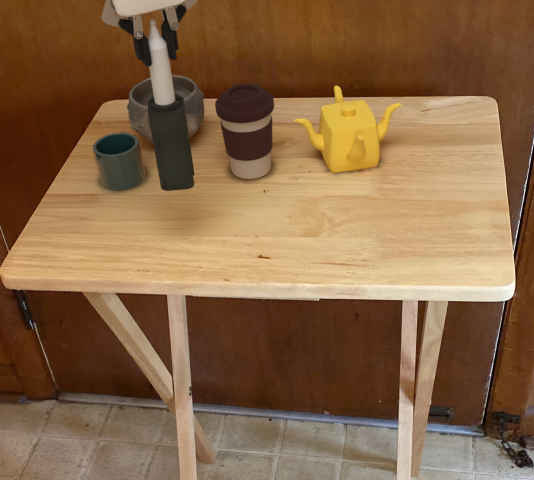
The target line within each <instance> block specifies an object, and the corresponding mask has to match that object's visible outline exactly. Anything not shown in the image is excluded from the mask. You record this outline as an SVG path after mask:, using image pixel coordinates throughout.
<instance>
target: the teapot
mask: <svg viewBox="0 0 534 480" xmlns="http://www.w3.org/2000/svg"><path fill="white" fill-rule="evenodd" d="M333 92H334V102H333V103H331V104H325V105H322V106H321V107H320V108H321V109H320V114H319V122H318V132H317V131H315V129H314V125H313V124H312V122H311V121H310V120H309V119H308V118H295V119H294V120H293V121H294V122H295V123H298V124H300V125H302V127H303V128H304V129H305V131H306V134H307V137H308V140H309V143H310V144H311V145H312V146H313V148H315V149H316V150H318V151H320V152H321V155H322V158H323V160H324V163H325V164H326V166H327V168H328V169H329V171H330V172H331V173H333V174H334V173H336V174H337V173H345V172H351V171H358V170H364V169H369V168H370V169H371V168H375V167H378V166H379V164H380V158H381V148H380V147H381V145H380V142H381V141H382V140H383V139H384V138H385V137H386V135H387V133H388V130H389V127H390V123H391V118H392V116H393V114H394V112H395V111H396V110H397V109H399V108H400V107H402V103H400V102H398V103H393V104H391V105H389V106H387V107H386V108H385V110H384V112H383V114H382V117H381V119H380V121H379V122H378V123H377V120H376V117H375V115H374V113H373V111H372V109H371V108H370V106H369V105H368V103H367V102H366V101H365V100H363V99H358V100H349V101H345V99H344V96H343V91H342V88H341V87H340V86H339V85H334V87H333Z"/></svg>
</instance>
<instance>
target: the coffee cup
mask: <svg viewBox="0 0 534 480" xmlns="http://www.w3.org/2000/svg"><path fill="white" fill-rule="evenodd" d="M274 98H275V97H274V95H273V94H272V93H270V92H269V91H267V90H266V89H264V88H262V87H261V86H260V85H259V84H256V83H248V82H247V83H245V82H244V83H238V84H233V85H231V86H229V87H228V88H226V89H225V90H224V92H223V93H222V94H220V95H219V96H218V97H217V98H216V100H215V103H214V107H215V113H216V115H217V117H218V118H219V119H220V128H221V132H222V139H223V142H224V148H225V152H226V154H227V156H228V160H229V166H230V171H231V173H232V174H233V175H234V176H235V177H237V178H239V179H243V180H255V179H259V178H262V177H264V176H266V175H267V174H268V173H269V172H270V171H271V170H272V150H273V116H272V113H273V112H274V109H275V100H274Z"/></svg>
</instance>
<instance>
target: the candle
mask: <svg viewBox="0 0 534 480" xmlns="http://www.w3.org/2000/svg"><path fill="white" fill-rule="evenodd" d="M148 23H149V25H150V26H149V34H148V43H149V49H150V55H151V61H152V65H151V66H149V67H148V70H149V76H150V78H151V82H152V88H153V94H154V96H153V97H152V98H151V99H150V100H149V102H148V111H147V112H148V117H149V123H150V129H151V134H152V140H153V143H152V145H153V150H154V156H155V162H156V168H157V175H158V179H159V184H160V189H161V190H162V191H164V192H170V191H171V192H172V191H183V190H190V189H192V188H194V187H195V180H194V176H195V168H194V161H193V155H192V148H191V141H190V138H189V132H188V125H187V118H186V111H185V104H184V98H183V97H181V96H179V95H178V94H175V93H174V88H173V81H172V75H173V74H172V69H171V61H170V58H169V54H168V48H167V43H166V41H165V40H164V39H163V38H162V34H160V33H161V32H160V31H159V30H158V29H159V28H158V27H157V22H156V20H155V19H153V18H152V19H151V18H150V20H149V21H148Z"/></svg>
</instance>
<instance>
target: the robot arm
mask: <svg viewBox="0 0 534 480" xmlns="http://www.w3.org/2000/svg"><path fill="white" fill-rule="evenodd" d="M198 1H199V0H105V3H104V5H103V9H102V13H101V20H102V21H103V23H104V24H105V25H108V26H111V27H112V26H113V27H116V28H120V29H121V30H123V31H125V32H126V33H128V34H129V35H131V37H132V42H133V47H134V54H135V56H136V59H137V60H138V61H141V63H143V64H144V66H145V67H146V68H149V66H151V65H152V61H151V55H150V49H149V43H148V39H149V37H148V36H146V34H145V32H144V28H143V27H144V26H143V16H142V15H144V14H145V15H146V14H148V13H154V12H157V11H160V13H161V16H162V23H161V24H160V33H161V37H162V38H163V39H164V40H165V41H166V43H167V48H168V54H169V60H172V61H177V60H178V55H177V51H179V41H178V40H179V39H178V35H177V30H178V29H179V27H180V25H179V24H180V22H181V21H182V19H183V17H185V15H186V13H187V11H189V10H190V9H191V8H193V6H195V5H196V4H197V3H198Z"/></svg>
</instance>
